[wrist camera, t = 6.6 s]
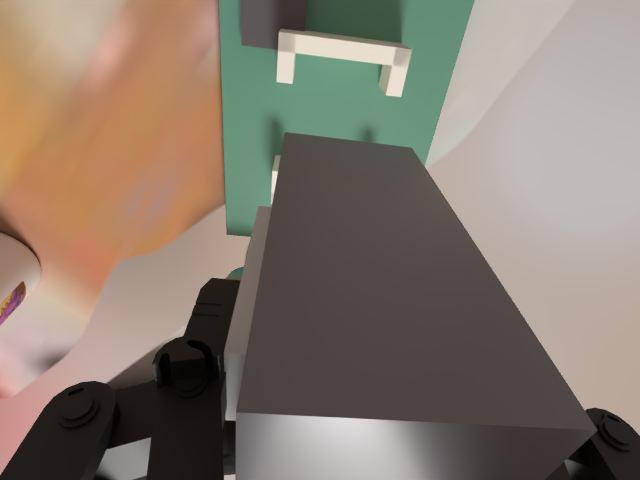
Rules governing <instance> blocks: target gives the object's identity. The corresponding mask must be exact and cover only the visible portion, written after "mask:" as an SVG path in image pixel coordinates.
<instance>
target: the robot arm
mask: <svg viewBox="0 0 640 480" xmlns="http://www.w3.org/2000/svg"><path fill="white" fill-rule="evenodd" d="M271 208H272V207H265V206H258V210H257V214H256V218H255V223H254V227H253V231H252V235H251V240H250V244H249V248H248V252H247V257H246V261H245V265H244V269H243V274H242V278H241V280H230V279H218V278H211V279H210V280H209V281H208V282H207V283H206V284H205V285H204V286H203V287H202V288H201V289H200V292H199V295H198V298H197V300H196V305H195V306H194V309H193V311H192V316H191V317H190V320H189V322H188V325H187V328H186V331H185V333H184V336H183V337H179V338H175V339H173V340H172V341H170V342H168V343H166V344H165V345H164V346H163V347H162V348H161V349H160V350H159V351H158V352H157V353H156V355H155V358H154V361H153V363H152V366H153V371H154V376H155V379H154V380H152V381H150V382H148V383H145V384H142V385H138V386H134V387H130V388H125V389H121V390H117V391H114V390H113V389H111V388H110V387H109V386H108V385H107V384H105V383H101V382H97V381H91V382H81V383H79V384H76V385H74V386H71V387H68V388H66V389H65V390H63V391H62V392H61V393H59V394H57V395H56V396H55V397H54V398H53V399H52V400H51V401H50V402H49V403H48V404H47V405H46V407H45V408H44V409H43V411H42V412H41V414H40V415H39V417H38V418H37V420H36V421H35V423H34V425H33V426H32V428H31V429H30V431H29V432H28V434H27V435H26V437H25V438H24V440H23V442H22V443H21V445H20V446H19V448H18V449H17V451H16V452H15V454H14V455H13V457H12V458H11V460H10V461H9V463H8V465H7V466H6V468H5V469H4V471H3V472H2V474H1V475H0V480H133V479H137V478H140V477H143V476H146V475H147V478H146V480H224V469H223V442H222V429H223V424H224V419H225V420H232V421H236V409H237V403H238V397H239V392H240V386H241V380H242V374H243V369H244V363H245V357H246V352H247V346H248V340H249V334H250V329H251V323H252V317H253V311H254V306H255V300H256V294H257V288H258V283H259V277H260V271H261V266H262V260H263V254H264V248H265V243H266V237H267V231H268V225H269V220H270V214H271ZM585 412H586V413H587V415H588V416H589V418H590V419H591V421H592V422H593V424H594V426H595V427H596V429H597V430H598V431H596V432H595V433H594V434H593V435H592V436H591V437H590V438H589V439H588V440H587V441H586V442H585V443H584V444H582V445H581V446H580V447H579V448H578V449H577V450H576V451H575V452H574V453H573V454H572V455H571V456H570V457H569V458H567V459H566V460H565V461H564V462H563V463H562V464H561V465H560V466H559V467H558V468H557V469H556V470H555V471H553V472H552V473H551V474H550V475H549V476H548V477H547V478H546V479H545V480H640V436H639V435H638V434H637V433H636V431H635V430H634V429H633V428H632V427H631V426H630V425H629V424H627V423H626V422H625V421H624V420H622V419H621V418H620V417H618V416H616V415H614V414H612V413H610V412H608V411H606V410H603V409H598V408H592V409H587V410H586V411H585Z"/></svg>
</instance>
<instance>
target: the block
mask: <svg viewBox="0 0 640 480" xmlns="http://www.w3.org/2000/svg"><path fill="white" fill-rule="evenodd" d="M596 431H598V430H597V429H596V427H595V426H594V424H593V422H592V421H591V419H590V418H589V416H588V415H587V413H586V412H585V410H584V409H583V407H582V406H581V404H580V403H579V401H578V400H577V398H576V397H575V395H574V394H573V392H572V391H571V389H570V387H569V386H568V384H567V383H566V382H565V380H564V378H563V377H562V375H561V374H560V372H559V371H558V369H557V368H556V366H555V365H554V363H553V362H552V360H551V359H550V357H549V356H548V354H547V353H546V351H545V349H544V348H543V346H542V345H541V343H540V342H539V340H538V339H537V337H536V336H535V334H534V333H533V331H532V330H531V328H530V327H529V325H528V324H527V322H526V321H525V319H524V317H523V316H522V315H521V313H520V311H519V310H518V308H517V307H516V305H515V304H514V302H513V301H512V299H511V298H510V296H509V295H508V293H507V292H506V291H505V289H504V287H503V285H502V284H501V283H500V281H499V279H498V278H497V276H496V275H495V274H494V272H493V271H492V269H491V267H490V266H489V264H488V263H487V261H486V260H485V258H484V257H483V255H482V254H481V252H480V250H479V249H478V247H477V246H476V245H475V243H474V241H473V240H472V238H471V237H470V236H469V234H468V232H467V231H466V229H465V228H464V226H463V225H462V223H461V222H460V220H459V219H458V217H457V215H456V214H455V212H454V211H453V209H452V208H451V206H450V205H449V203H448V202H447V200H446V199H445V197H444V196H443V194H442V193H441V191H440V190H439V188H438V187H437V185H436V184H435V182H434V180H433V179H432V177H431V176H430V174H429V173H428V171H427V170H426V168H425V167H424V165H423V164H422V162H421V161H420V159H419V158H418V156H417V155H416V153H415V152H414V150H413V148H411V147H403V146H395V145H386V144H378V143H370V142H362V141H354V140H346V139H338V138H330V137H322V136H314V135H306V134H298V133H290V132H285V134H284V139H283V145H282V151H281V157H280V162H279V168H278V174H277V180H276V185H275V191H274V197H273V202H272V208H271V214H270V220H269V225H268V231H267V237H266V243H265V248H264V254H263V260H262V266H261V271H260V277H259V283H258V288H257V294H256V300H255V306H254V311H253V317H252V323H251V329H250V334H249V340H248V346H247V352H246V357H245V363H244V369H243V374H242V380H241V386H240V392H239V397H238V403H237V409H236V480H545V479H546V478H547V477H548V476H549V475H550V474H551V473H552V472H553V471H555V470H556V469H557V468H558V467H559V466H560V465H561V464H562V463H563V462H564V461H565V460H566V459H567V458H569V457H570V456H571V455H572V454H573V453H574V452H575V451H576V450H577V449H578V448H579V447H580V446H581V445H582V444H584V443H585V442H586V441H587V440H588V439H589V438H590V437H591V436H592V435H593V434H594V433H595V432H596Z"/></svg>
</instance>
